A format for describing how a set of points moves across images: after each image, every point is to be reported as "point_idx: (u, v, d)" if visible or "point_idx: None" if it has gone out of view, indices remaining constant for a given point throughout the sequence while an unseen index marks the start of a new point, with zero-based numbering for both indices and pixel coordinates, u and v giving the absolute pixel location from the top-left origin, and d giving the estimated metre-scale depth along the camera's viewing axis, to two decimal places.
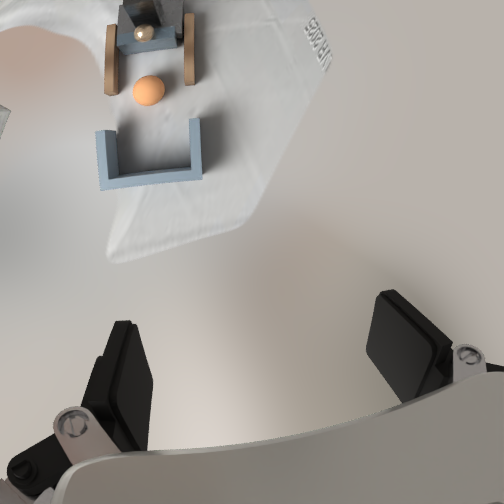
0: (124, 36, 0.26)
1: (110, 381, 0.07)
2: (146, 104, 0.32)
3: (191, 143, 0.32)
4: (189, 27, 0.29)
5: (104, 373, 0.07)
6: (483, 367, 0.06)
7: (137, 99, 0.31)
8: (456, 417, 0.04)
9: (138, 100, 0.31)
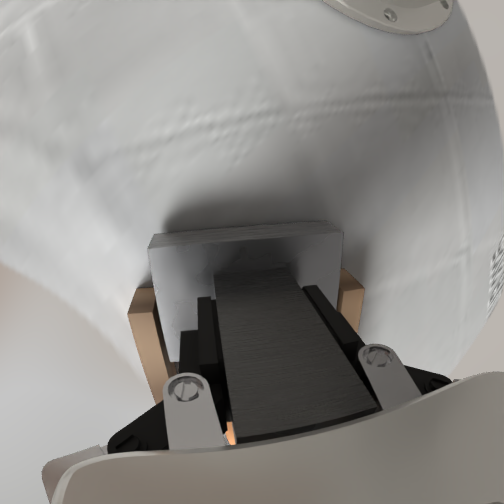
0: None
1: (215, 346, 0.08)
2: None
3: None
4: None
5: (206, 340, 0.08)
6: (399, 364, 0.07)
7: None
8: (456, 417, 0.04)
9: None
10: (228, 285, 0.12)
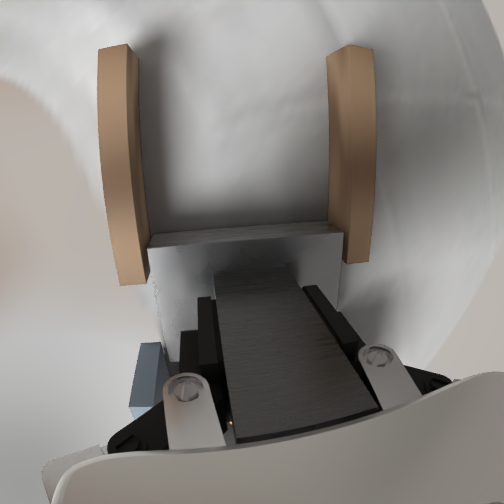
0: None
1: (216, 346, 0.08)
2: None
3: None
4: (364, 93, 0.11)
5: (206, 340, 0.08)
6: (399, 364, 0.07)
7: None
8: (456, 417, 0.04)
9: None
10: (228, 285, 0.12)
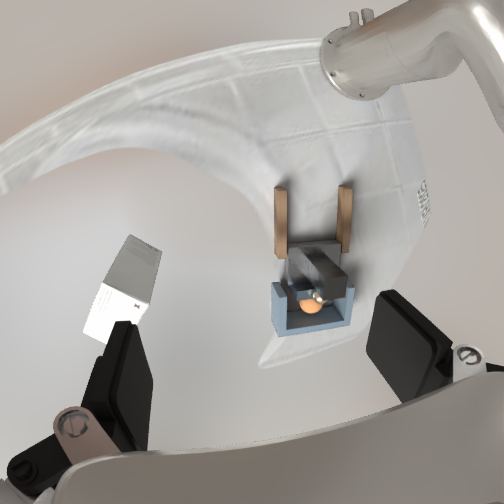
0: (302, 293, 0.44)
1: (110, 381, 0.07)
2: None
3: (347, 304, 0.46)
4: (348, 203, 0.43)
5: (104, 373, 0.07)
6: (483, 367, 0.06)
7: None
8: (456, 417, 0.04)
9: None
10: (311, 258, 0.44)
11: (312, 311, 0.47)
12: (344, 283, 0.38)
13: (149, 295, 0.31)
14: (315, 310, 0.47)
